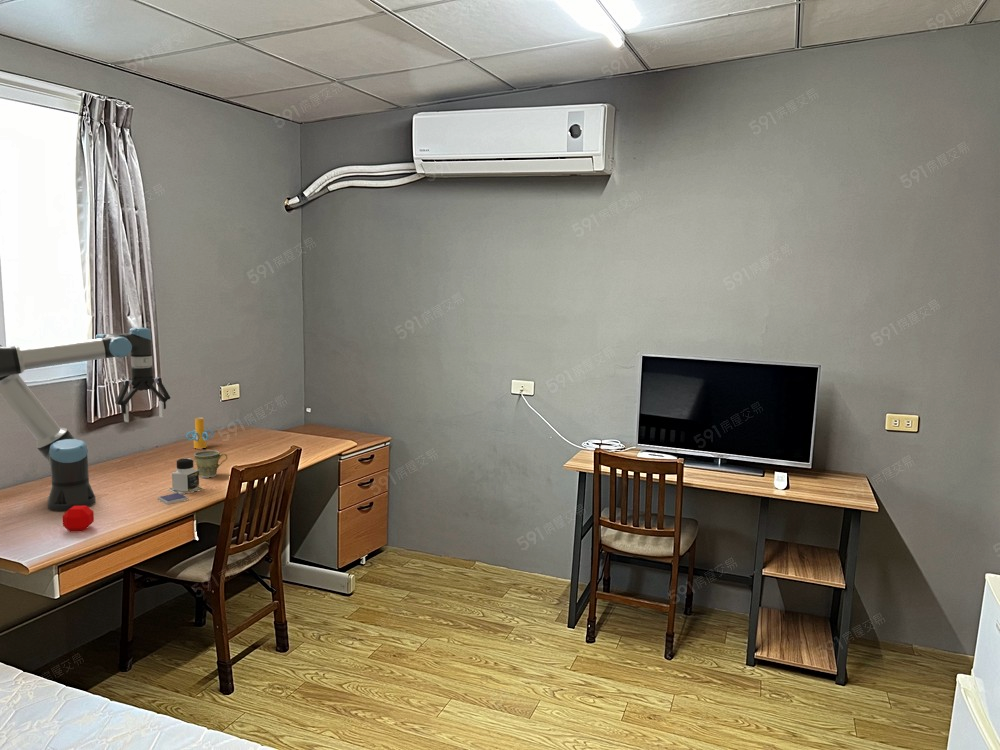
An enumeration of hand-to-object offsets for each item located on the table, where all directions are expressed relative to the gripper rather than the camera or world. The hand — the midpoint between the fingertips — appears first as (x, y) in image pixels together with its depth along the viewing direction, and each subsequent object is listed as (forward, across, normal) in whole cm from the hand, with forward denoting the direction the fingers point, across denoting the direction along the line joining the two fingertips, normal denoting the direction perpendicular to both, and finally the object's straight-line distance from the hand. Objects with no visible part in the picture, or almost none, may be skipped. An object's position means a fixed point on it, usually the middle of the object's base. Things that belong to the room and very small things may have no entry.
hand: (144, 419), depth 285 cm
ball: (+27, -37, -37) cm, 59 cm away
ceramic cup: (+27, +24, -6) cm, 37 cm away
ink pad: (+27, -2, -27) cm, 38 cm away
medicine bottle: (+26, +8, -18) cm, 33 cm away
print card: (+27, +8, -18) cm, 33 cm away
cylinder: (+27, +43, +44) cm, 67 cm away
